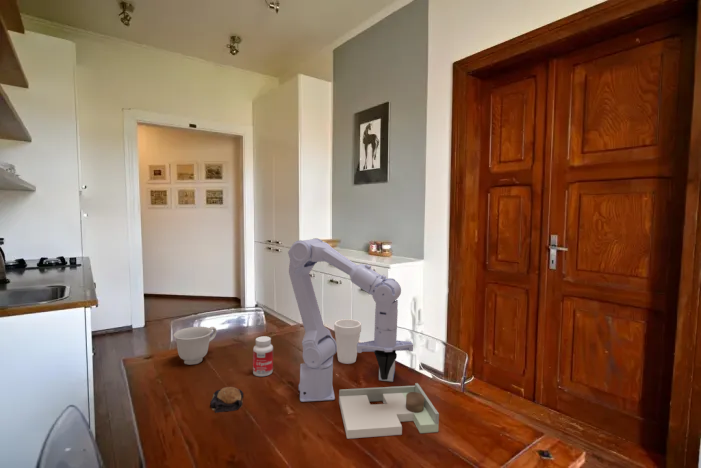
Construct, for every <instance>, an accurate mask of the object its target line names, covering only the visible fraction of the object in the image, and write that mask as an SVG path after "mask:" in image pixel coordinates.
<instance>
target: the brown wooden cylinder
mask: <svg viewBox="0 0 701 468" xmlns="http://www.w3.org/2000/svg"><path fill="white" fill-rule="evenodd" d="M406 409H407V410H409V411H410V412H414V413H419V412H422V411H423V410H424V396H423V395H422V394H420V393H417V392H410V393H407V395H406Z"/></svg>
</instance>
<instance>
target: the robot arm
mask: <svg viewBox="0 0 701 468" xmlns="http://www.w3.org/2000/svg"><path fill="white" fill-rule="evenodd" d="M287 254H288V258H289V264H288V265H289V266H288V275H289V278H290V282H291V285H292V289H293V292H294V296H295V299H296V303H297V307H298V311H299V315H300V317H301V322H302V325H303V329H304V332H305V333H304V335H303V338H302V341H301V345H302V360H303V363H300V365H299V383H298V391H299V401H300V402H301V403H303V402H321V401H334V400H335V399H336V397H335V396H336V395H335V391H334V387H333V373H334V371H333V368H334V356H335V354H336V353H337V343H336V339H335V338H333V335H332V333H331V330H330V329H328V327H325V324H324V322H323V318H322V317H323V316H322V315H321V314H322V313H321V310H320V308H319V304H318V300H317V297H316V292H315V289H314V286H313V283H312V278H311V276H310V273H311V271H312V269H313V268H314V266H315V265H316V264H317V263H319V262H320V263H321V262H325V263H327V264H329V265H331V266H333V267H334V268H336V269H338V271H341V272H343V273H345V274H346V275H347V276H349V278H350V282H351V283H352V284H353V285H355V286H357V287H358V288H360V289H361V290H363V291H364V292H366V293H368V294H369V295H371V296H372V299H373V300H374V302H375V309H374V313H375V315H374V336H373V337H374V338H373V339H374V340H369V341H364V342H359V343H357V354H362V352H366V353H367V352H373V354H374V355H375V358H376V361H377V364H378V370H379V369H380V377H381V379H382V380H387V378H388V374H389V371H390V368H391V366H392V364H393V362H394V361H395V362H396V359H397V355H398V354H397V352H399V351H400V352H401V351H403V352H404V351H408V352H414V344H413V342H412V341H411V340H410V341H406V340H405V341H404V340H398V339H397V335H398V333H397V332H398V314H399V313H398V312H399V311H398V310H399V309H398V305H399V302H398V301H399V300H398V299H399V297H400V295H401V293H402V287H401V286H400V283H399V282H398V281H396V279H395V278H392V277H389V278H388V277H387V275H385V274H380V273H378V272H377V271H375V270H374V269H372V265H370V264H367V263H366V264H364V263H360V264H356V263H355V262H353V261H351V260H350V259H349V258H348V257H346V256H345V255H344V254H342V253H340V252H339V251H337V250H336V249H335V248H333V247H332V246H331V245H330V244H329V243H328V242H326V241H323V240H322V239H320V238H317V237H316V238H310V239H305V240H301V239H300V240H295V241H294V242H293V243H292V245H291V246H290V248H289V249H288V251H287Z"/></svg>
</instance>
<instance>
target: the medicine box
mask: <svg viewBox="0 0 701 468" xmlns="http://www.w3.org/2000/svg"><path fill="white" fill-rule="evenodd" d="M395 373H396V360H395V361H394V362H393V364H392V366H391V368H390V371H389V374H388V378H387V380H382V379H381V377H380V369H379V368H378V381H382V382H391V383H392V382H394V377H395Z"/></svg>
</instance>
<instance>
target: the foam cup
mask: <svg viewBox="0 0 701 468" xmlns="http://www.w3.org/2000/svg"><path fill="white" fill-rule="evenodd" d="M333 329H334V330H333V331H334V335H335V341H336V343H337V351H336V353H337V355H336V357H337V360H338V362H339V363H341V364H348V365H350V364H354V363H355V362H356V361H357V356H358V352H357V343H360V336H361V332H362V322H361V321H359V320H356V319H350V318H348V319H347V318H346V319H345V318H343V319H339V320H336V321H335V322H334V323H333Z"/></svg>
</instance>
